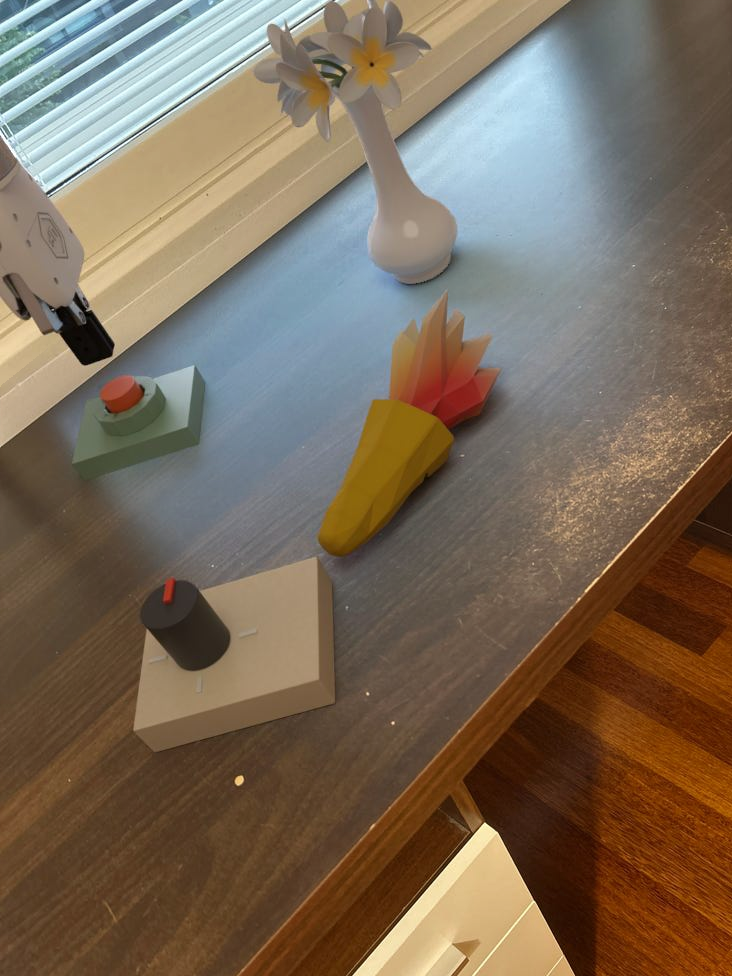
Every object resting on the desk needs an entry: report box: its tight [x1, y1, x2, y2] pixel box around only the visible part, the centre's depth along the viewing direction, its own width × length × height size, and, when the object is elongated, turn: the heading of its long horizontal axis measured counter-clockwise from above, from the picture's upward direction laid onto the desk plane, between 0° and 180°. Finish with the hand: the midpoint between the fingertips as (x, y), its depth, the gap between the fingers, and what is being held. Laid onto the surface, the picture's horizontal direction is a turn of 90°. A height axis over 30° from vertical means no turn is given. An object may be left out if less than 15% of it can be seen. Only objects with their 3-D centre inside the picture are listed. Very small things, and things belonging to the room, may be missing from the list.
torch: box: [317, 288, 503, 558], centre depth 82 cm, size 8×8×25 cm
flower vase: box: [252, 0, 459, 285], centre depth 95 cm, size 13×18×25 cm
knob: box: [139, 577, 230, 671], centre depth 73 cm, size 4×4×5 cm
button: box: [99, 374, 144, 414], centre depth 97 cm, size 4×4×2 cm
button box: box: [71, 364, 206, 481], centre depth 99 cm, size 12×10×4 cm
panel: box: [132, 556, 336, 753], centre depth 75 cm, size 14×12×3 cm
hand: (99, 355), depth 94 cm, fingers closed
